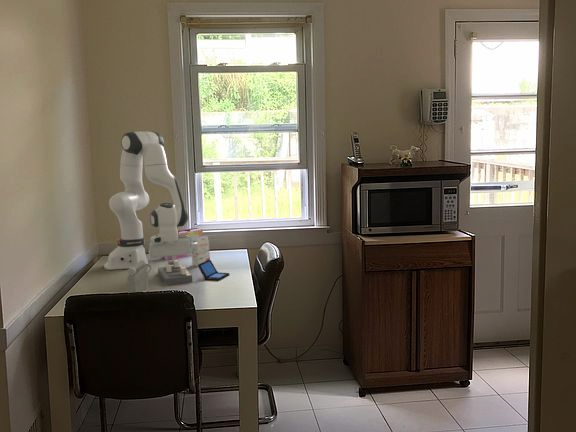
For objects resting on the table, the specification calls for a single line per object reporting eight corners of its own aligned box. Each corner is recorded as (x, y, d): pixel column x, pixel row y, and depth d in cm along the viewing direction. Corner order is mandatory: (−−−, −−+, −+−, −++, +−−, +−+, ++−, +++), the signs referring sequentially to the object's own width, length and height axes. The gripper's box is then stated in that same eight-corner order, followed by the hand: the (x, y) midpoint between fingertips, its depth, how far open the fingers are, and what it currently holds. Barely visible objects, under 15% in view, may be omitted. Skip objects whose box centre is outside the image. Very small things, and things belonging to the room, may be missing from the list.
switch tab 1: (167, 272, 279) (166, 266, 278) (166, 271, 282) (165, 264, 281) (171, 271, 279) (171, 265, 279) (170, 270, 282) (170, 264, 282)
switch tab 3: (182, 274, 273) (181, 268, 273) (180, 273, 276) (180, 267, 276) (186, 274, 274) (185, 267, 273) (185, 272, 277) (184, 266, 276)
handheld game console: (218, 282, 272) (217, 266, 271) (197, 280, 276) (196, 264, 275) (230, 275, 284) (229, 260, 283) (210, 274, 288) (209, 259, 287)
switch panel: (166, 285, 269) (165, 278, 268) (158, 273, 291) (157, 267, 290) (192, 281, 273) (191, 275, 272) (182, 270, 295) (182, 264, 295)
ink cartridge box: (203, 262, 313) (202, 234, 311) (210, 263, 310) (208, 235, 308) (191, 265, 306) (190, 237, 304) (198, 266, 303) (196, 238, 301)
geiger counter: (137, 258, 261) (119, 272, 237) (151, 258, 261) (135, 271, 237) (140, 289, 264) (122, 306, 239) (154, 288, 263) (138, 305, 239)
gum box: (198, 250, 344) (197, 227, 342) (206, 252, 338) (205, 228, 336) (162, 257, 327) (161, 233, 325) (171, 259, 321) (169, 235, 319)
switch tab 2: (174, 267, 288) (174, 261, 287) (173, 266, 291) (173, 260, 290) (178, 267, 288) (178, 261, 288) (177, 265, 291) (177, 260, 291)
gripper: (189, 233, 293) (190, 261, 295) (147, 237, 286) (149, 265, 288) (191, 235, 287) (193, 263, 289) (148, 239, 280) (150, 268, 282)
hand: (170, 264), depth 288 cm, fingers closed
